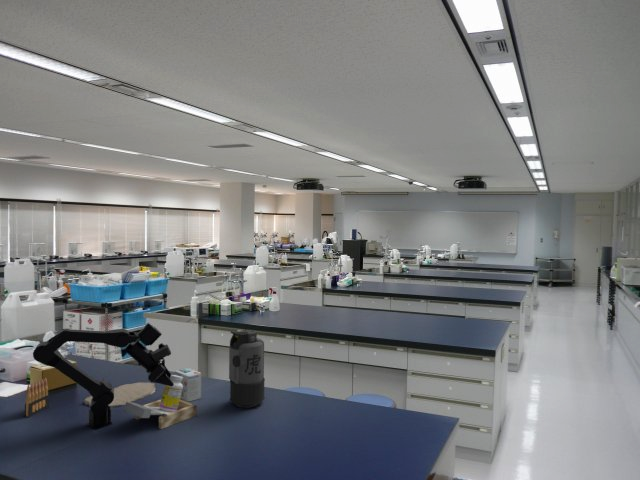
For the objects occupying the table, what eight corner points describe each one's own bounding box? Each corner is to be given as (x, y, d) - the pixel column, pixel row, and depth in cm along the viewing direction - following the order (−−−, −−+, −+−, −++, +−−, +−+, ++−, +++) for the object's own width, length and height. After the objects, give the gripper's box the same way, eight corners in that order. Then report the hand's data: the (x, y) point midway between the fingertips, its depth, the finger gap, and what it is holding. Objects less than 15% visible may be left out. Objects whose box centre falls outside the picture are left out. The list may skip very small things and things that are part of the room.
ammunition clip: (28, 417, 180) (28, 385, 179) (24, 417, 180) (24, 385, 180) (49, 407, 190) (49, 377, 190) (45, 406, 190) (45, 376, 190)
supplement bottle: (159, 407, 185) (168, 373, 188) (176, 410, 186) (185, 377, 189) (158, 410, 178) (167, 374, 182) (175, 413, 180) (185, 378, 183)
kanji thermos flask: (270, 405, 195) (271, 331, 195) (238, 412, 187) (239, 335, 187) (255, 394, 207) (255, 325, 206) (223, 401, 199) (224, 329, 198)
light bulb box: (173, 395, 205) (174, 370, 205) (187, 392, 210) (188, 367, 210) (187, 402, 198) (187, 376, 197) (201, 398, 203) (201, 372, 202)
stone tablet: (80, 404, 195) (80, 398, 194) (141, 384, 220) (141, 378, 220) (106, 413, 186) (106, 407, 186) (166, 391, 212) (166, 385, 212)
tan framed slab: (161, 429, 171) (161, 415, 171) (135, 418, 180) (135, 405, 180) (196, 415, 184) (196, 403, 184) (170, 406, 193) (170, 394, 193)
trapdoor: (142, 418, 167) (145, 409, 168) (123, 410, 174) (125, 401, 175) (186, 419, 182) (188, 411, 183) (167, 412, 189) (169, 404, 190)
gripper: (158, 344, 172) (189, 372, 176) (157, 333, 189) (186, 359, 193) (134, 368, 169) (167, 396, 173) (136, 354, 187) (165, 380, 191)
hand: (172, 381), depth 183 cm, fingers open, 9 cm apart
